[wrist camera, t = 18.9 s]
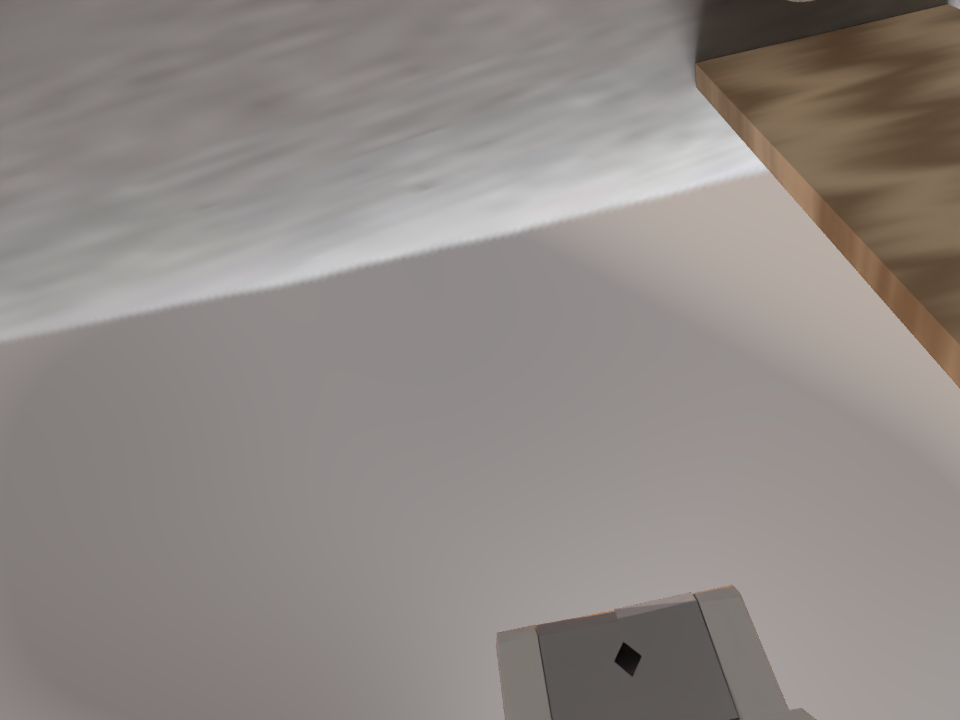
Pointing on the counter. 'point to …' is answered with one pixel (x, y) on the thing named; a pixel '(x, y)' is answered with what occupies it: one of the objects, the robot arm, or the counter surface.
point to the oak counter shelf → (866, 152)
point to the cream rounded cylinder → (800, 0)
